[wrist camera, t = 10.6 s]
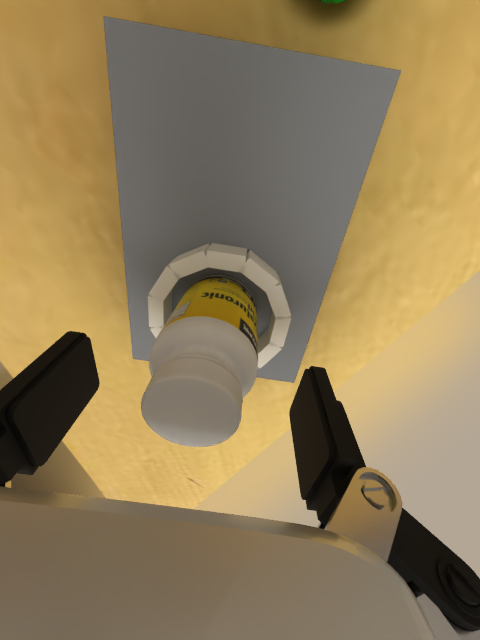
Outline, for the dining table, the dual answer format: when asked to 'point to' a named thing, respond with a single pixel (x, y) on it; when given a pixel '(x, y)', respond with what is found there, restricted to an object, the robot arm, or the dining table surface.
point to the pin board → (237, 174)
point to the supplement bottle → (203, 364)
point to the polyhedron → (332, 1)
